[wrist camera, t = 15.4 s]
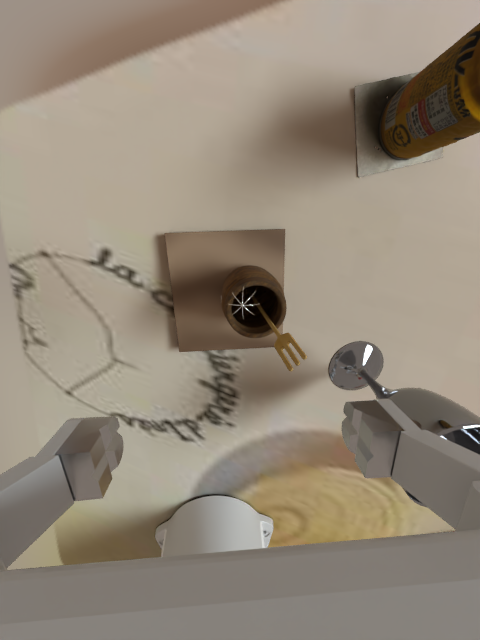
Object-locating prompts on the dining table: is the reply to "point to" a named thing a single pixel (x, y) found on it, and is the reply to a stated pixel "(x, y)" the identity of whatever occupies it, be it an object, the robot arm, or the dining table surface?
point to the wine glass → (406, 397)
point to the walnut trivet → (217, 283)
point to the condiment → (419, 110)
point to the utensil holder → (257, 308)
